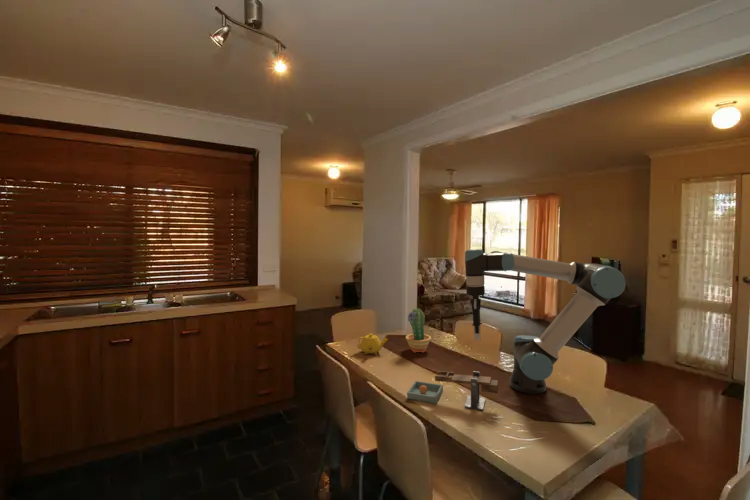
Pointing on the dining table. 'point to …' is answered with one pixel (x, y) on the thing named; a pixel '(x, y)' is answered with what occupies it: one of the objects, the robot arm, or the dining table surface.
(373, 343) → the teapot
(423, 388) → the ball
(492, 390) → the lever
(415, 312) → the potted cactus
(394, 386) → the dining table surface
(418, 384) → the dish
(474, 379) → the stand
